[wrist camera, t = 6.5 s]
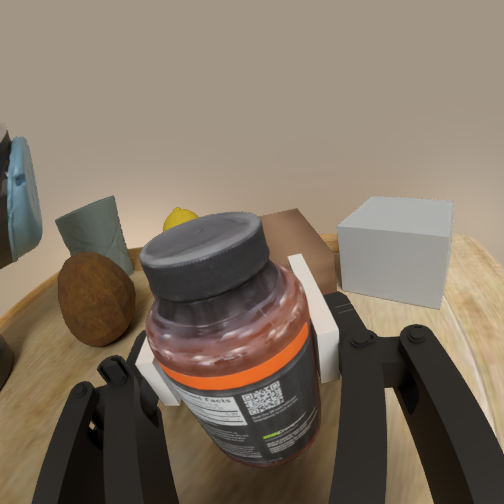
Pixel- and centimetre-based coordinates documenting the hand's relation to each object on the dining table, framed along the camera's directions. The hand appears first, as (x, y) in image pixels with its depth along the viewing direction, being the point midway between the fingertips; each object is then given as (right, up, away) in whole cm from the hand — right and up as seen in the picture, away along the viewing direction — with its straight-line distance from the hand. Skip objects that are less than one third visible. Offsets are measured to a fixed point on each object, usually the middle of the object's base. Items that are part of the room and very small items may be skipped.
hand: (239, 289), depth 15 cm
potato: (-14, -6, +10) cm, 18 cm away
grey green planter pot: (-22, -2, +24) cm, 32 cm away
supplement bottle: (+2, -8, -2) cm, 8 cm away
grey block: (+15, 0, +8) cm, 17 cm away
